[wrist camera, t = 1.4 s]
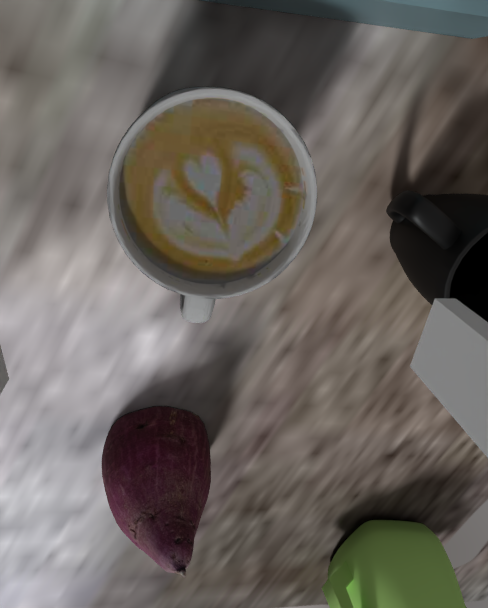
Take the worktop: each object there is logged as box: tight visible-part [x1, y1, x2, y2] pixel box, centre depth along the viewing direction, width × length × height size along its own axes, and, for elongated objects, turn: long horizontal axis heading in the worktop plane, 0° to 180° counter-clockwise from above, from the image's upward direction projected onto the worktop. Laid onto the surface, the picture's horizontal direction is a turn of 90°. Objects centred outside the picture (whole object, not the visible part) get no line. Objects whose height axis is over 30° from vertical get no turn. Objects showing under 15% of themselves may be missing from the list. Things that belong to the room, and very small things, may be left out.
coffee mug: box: [107, 87, 317, 323], centre depth 23 cm, size 13×10×10 cm
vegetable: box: [102, 406, 211, 577], centre depth 33 cm, size 10×10×15 cm
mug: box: [386, 191, 488, 322], centre depth 27 cm, size 8×12×10 cm
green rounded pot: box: [322, 520, 466, 608], centre depth 50 cm, size 18×20×13 cm
